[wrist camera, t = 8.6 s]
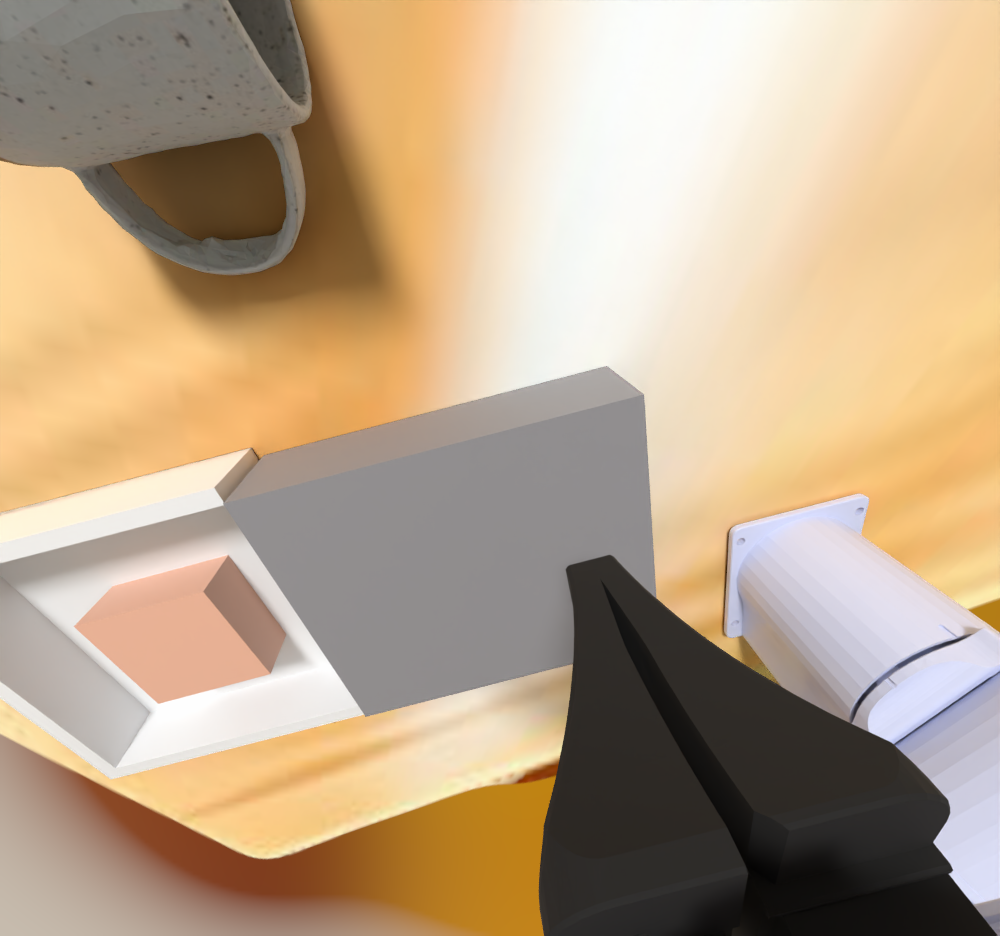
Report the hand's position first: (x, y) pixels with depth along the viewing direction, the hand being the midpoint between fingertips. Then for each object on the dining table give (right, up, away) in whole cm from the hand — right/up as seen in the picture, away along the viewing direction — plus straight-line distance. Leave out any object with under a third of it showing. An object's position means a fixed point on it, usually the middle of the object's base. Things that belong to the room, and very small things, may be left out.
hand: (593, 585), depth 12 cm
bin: (-19, -4, +10) cm, 22 cm away
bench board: (-4, 0, +10) cm, 11 cm away
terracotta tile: (-18, -5, +8) cm, 20 cm away
